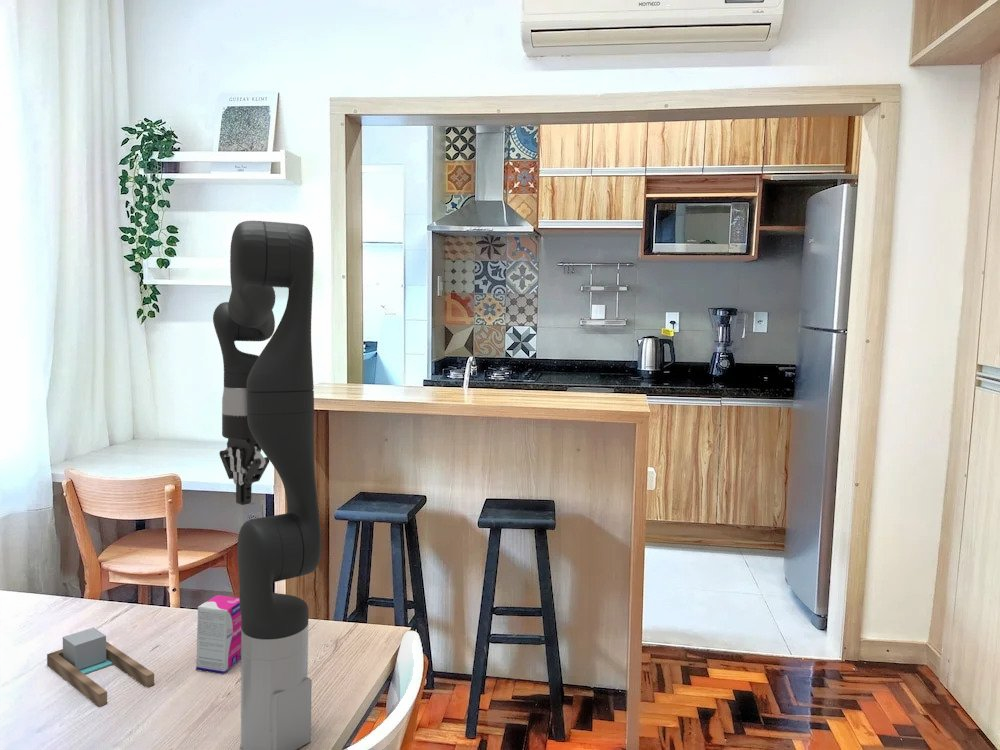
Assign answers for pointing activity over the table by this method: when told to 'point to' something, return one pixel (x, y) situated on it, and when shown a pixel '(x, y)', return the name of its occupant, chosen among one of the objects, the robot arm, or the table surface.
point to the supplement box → (219, 634)
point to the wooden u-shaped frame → (84, 682)
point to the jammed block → (85, 648)
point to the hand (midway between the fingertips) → (243, 503)
